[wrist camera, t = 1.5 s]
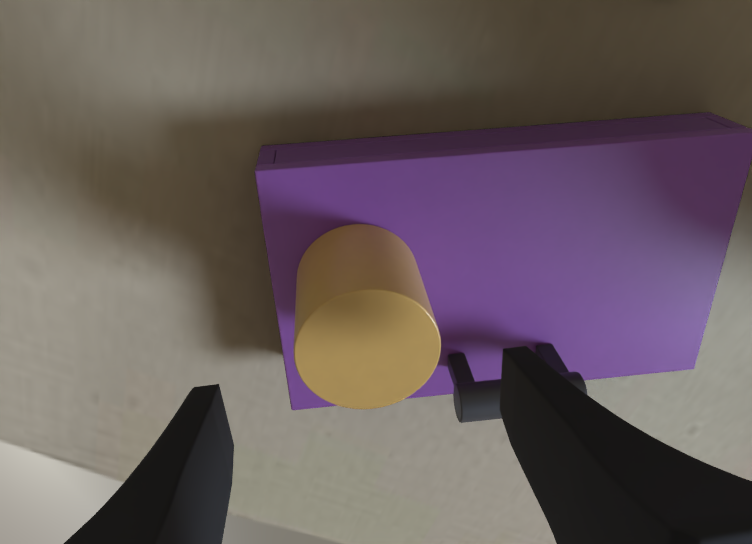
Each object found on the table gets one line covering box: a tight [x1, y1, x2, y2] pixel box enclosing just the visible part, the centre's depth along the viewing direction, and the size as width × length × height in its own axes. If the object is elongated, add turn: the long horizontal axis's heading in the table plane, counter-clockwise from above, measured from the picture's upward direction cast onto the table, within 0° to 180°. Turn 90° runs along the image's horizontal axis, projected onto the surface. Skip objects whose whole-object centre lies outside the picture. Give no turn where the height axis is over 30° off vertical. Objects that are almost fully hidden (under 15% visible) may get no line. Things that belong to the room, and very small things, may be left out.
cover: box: [255, 128, 752, 423], centre depth 21 cm, size 10×17×4 cm, turn 93°
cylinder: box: [294, 224, 441, 409], centre depth 19 cm, size 4×4×4 cm
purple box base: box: [256, 112, 746, 166], centre depth 23 cm, size 10×17×2 cm, turn 93°
